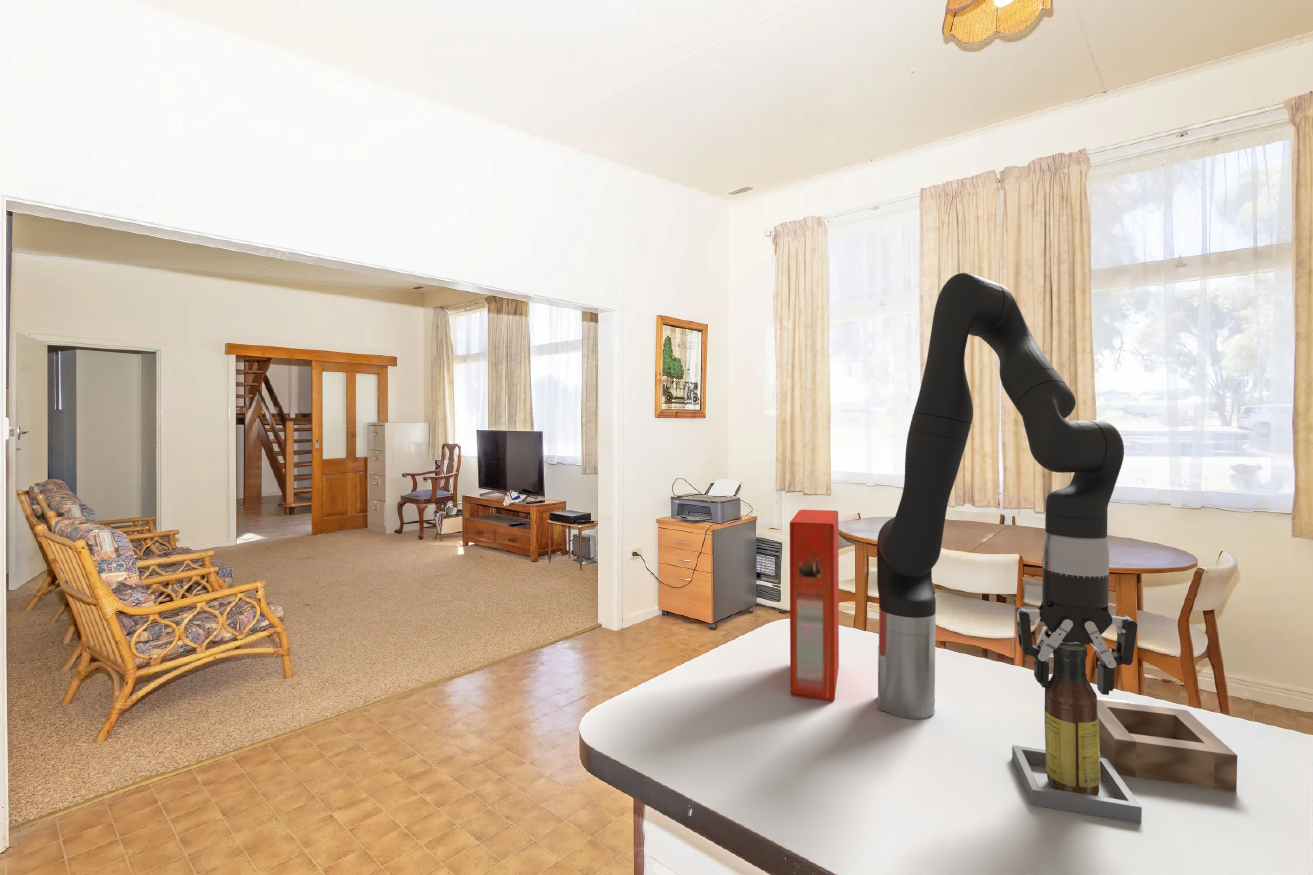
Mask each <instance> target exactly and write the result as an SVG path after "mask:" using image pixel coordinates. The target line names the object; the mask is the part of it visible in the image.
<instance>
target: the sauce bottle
mask: <svg viewBox="0 0 1313 875" xmlns="http://www.w3.org/2000/svg"><path fill="white" fill-rule="evenodd" d="M1052 656H1053V668H1052V672H1053V673H1052V675H1051V677H1050V678H1049V688H1044V743H1045V746H1044V747H1045V750H1046V766H1045V769H1046V774H1047V775H1046V776H1047V781H1048V782H1049V784H1050V786H1051V787H1053V789H1056V790H1062V791H1068V792H1074V793H1081V794H1087V795H1093V796H1099V793H1100V783H1101V775H1100V758H1101V753H1100V744H1099V717H1098V714H1097V696H1098V695H1097V693H1096V692H1095V690H1094V688H1093V687H1092V685H1091V683H1090V681H1089V679H1088V675H1087V674H1088V673H1087V657H1088V656H1089V655H1088V648H1087V646H1086V645H1085V644H1081V643H1078V642H1073V643H1064V642H1062V641H1061V643H1060V644H1059V646H1058V647H1057V648H1056V649H1054V650H1053V652H1052Z"/></svg>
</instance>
